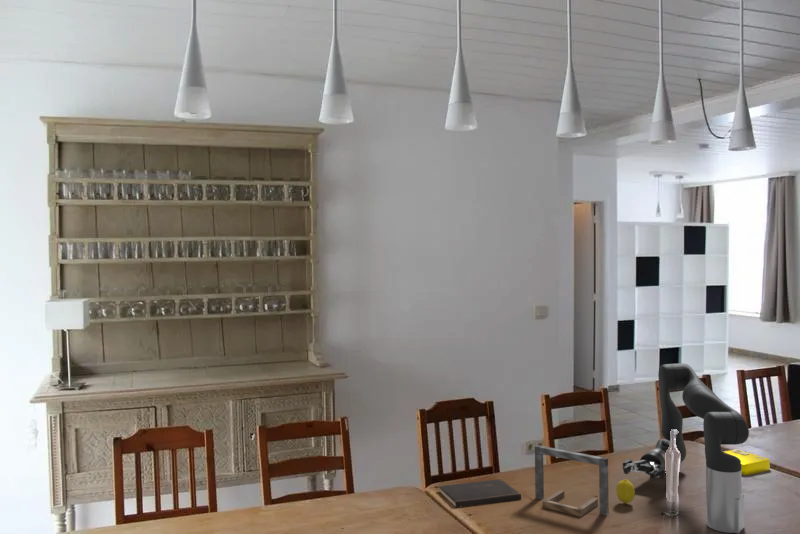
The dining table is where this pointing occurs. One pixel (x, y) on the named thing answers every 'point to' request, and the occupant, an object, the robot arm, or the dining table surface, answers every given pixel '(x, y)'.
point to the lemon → (625, 491)
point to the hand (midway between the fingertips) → (638, 473)
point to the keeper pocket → (552, 500)
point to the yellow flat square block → (750, 462)
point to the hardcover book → (479, 493)
